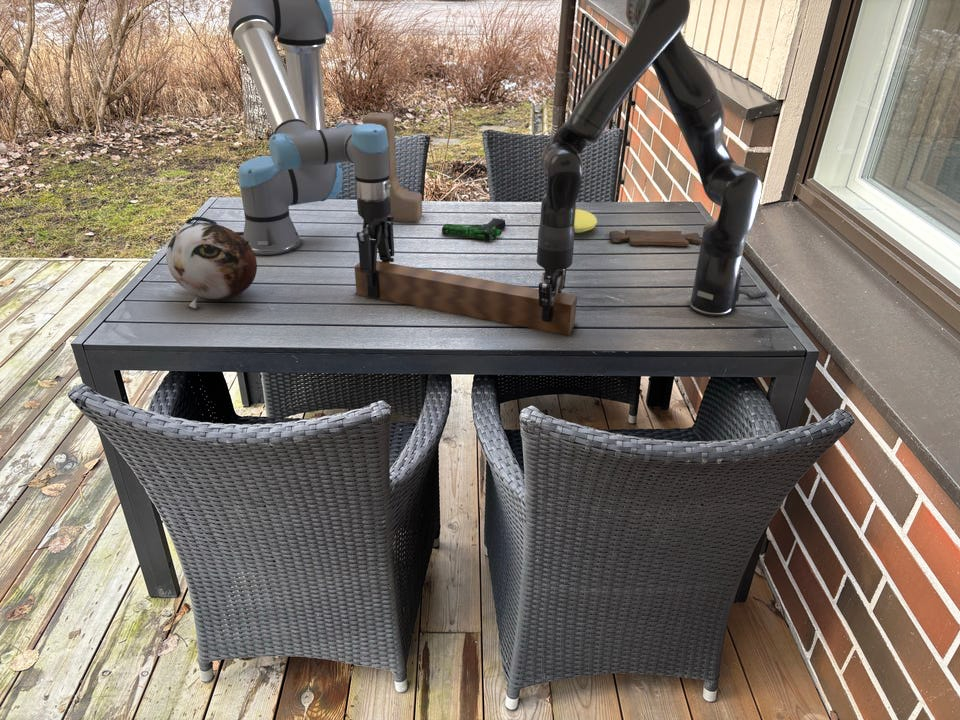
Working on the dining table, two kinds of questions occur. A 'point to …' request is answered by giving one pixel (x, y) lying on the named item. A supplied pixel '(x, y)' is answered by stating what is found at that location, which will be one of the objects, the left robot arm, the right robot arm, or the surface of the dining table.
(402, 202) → the decorative block
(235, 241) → the cat face ball toy
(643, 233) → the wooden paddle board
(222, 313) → the dining table surface
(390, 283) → the bar
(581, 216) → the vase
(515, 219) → the dining table surface
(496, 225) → the handgun
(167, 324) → the dining table surface
